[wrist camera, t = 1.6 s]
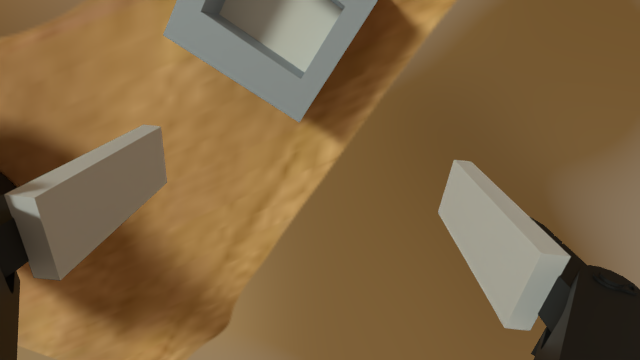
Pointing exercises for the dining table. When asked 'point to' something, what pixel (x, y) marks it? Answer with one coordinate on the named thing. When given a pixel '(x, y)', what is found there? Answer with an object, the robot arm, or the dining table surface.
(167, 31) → the socket
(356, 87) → the dining table surface
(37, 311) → the dining table surface
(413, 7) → the dining table surface
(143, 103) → the dining table surface
